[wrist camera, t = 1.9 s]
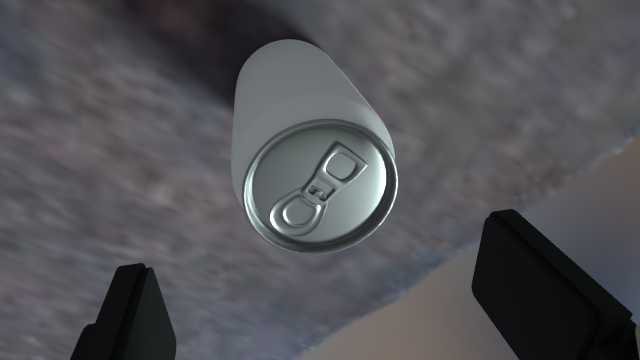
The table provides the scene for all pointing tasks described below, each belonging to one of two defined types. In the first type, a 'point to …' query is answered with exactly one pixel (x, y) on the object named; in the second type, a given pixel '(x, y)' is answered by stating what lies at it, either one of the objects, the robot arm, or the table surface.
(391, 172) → the can
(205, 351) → the table surface
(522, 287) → the robot arm
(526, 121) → the table surface
